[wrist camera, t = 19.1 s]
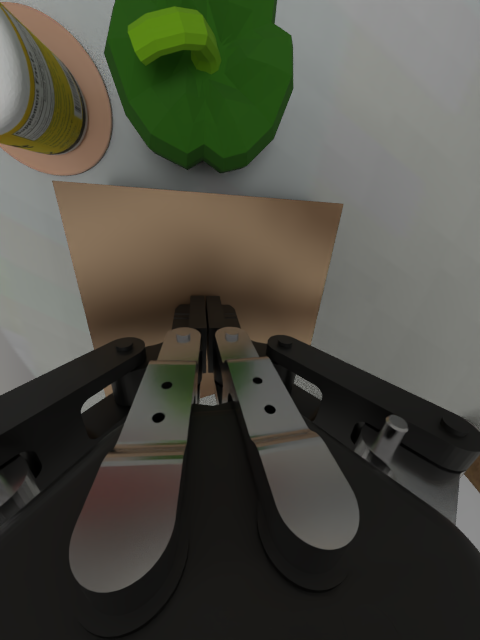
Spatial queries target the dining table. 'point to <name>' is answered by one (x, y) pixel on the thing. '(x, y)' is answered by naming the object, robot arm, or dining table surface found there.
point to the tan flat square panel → (195, 259)
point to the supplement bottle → (37, 94)
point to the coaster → (91, 89)
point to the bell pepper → (201, 76)
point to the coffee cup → (474, 471)
